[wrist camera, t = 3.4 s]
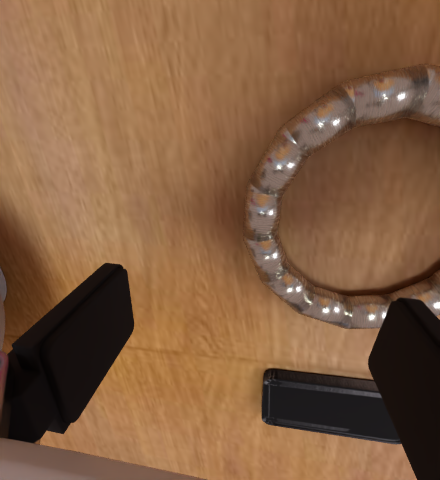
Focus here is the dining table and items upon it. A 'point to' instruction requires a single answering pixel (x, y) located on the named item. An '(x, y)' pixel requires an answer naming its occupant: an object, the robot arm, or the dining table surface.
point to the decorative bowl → (2, 307)
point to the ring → (291, 161)
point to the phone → (326, 405)
